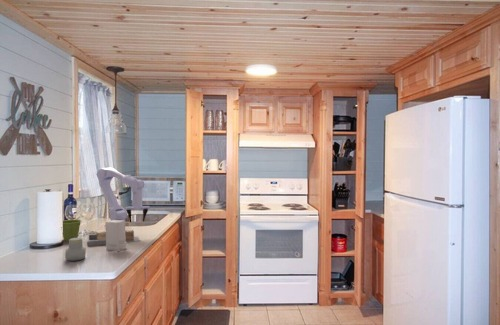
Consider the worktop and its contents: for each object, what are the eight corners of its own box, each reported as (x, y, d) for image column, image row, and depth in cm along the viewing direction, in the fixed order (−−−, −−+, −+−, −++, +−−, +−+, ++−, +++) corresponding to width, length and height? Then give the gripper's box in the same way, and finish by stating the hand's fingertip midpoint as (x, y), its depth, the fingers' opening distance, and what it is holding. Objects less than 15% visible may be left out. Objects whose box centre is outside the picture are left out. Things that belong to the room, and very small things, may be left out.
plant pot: (74, 237, 225) (74, 218, 225) (85, 240, 218) (85, 221, 218) (55, 240, 215) (55, 221, 215) (65, 243, 209) (66, 223, 208)
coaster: (118, 239, 222) (118, 238, 222) (137, 237, 226) (137, 236, 226) (120, 243, 212) (120, 242, 212) (140, 241, 216) (140, 240, 216)
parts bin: (87, 240, 218) (87, 234, 218) (113, 238, 223) (113, 233, 223) (87, 247, 202) (87, 241, 202) (115, 244, 207) (115, 239, 207)
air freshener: (84, 261, 175) (84, 240, 174) (64, 263, 172) (64, 242, 171) (85, 255, 185) (85, 236, 185) (67, 257, 182) (67, 237, 182)
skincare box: (126, 249, 199) (126, 220, 198) (117, 252, 192) (118, 222, 192) (113, 247, 201) (113, 219, 201) (104, 250, 195) (105, 221, 195)
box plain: (96, 239, 217) (96, 231, 217) (104, 238, 219) (104, 230, 219) (97, 241, 213) (97, 232, 213) (106, 240, 216) (106, 231, 215)
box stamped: (125, 238, 220) (125, 230, 220) (132, 238, 221) (132, 229, 221) (125, 240, 216) (125, 231, 215) (133, 240, 217) (133, 231, 217)
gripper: (125, 200, 219) (125, 223, 219) (150, 199, 225) (150, 221, 225) (124, 199, 226) (124, 221, 226) (148, 198, 232) (148, 220, 232)
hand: (137, 221), depth 226 cm, fingers open, 7 cm apart
